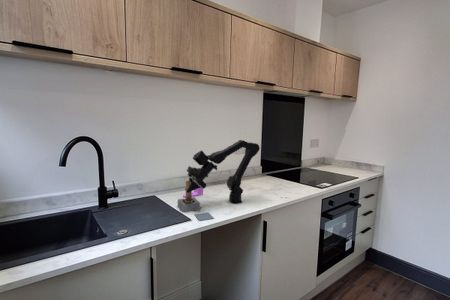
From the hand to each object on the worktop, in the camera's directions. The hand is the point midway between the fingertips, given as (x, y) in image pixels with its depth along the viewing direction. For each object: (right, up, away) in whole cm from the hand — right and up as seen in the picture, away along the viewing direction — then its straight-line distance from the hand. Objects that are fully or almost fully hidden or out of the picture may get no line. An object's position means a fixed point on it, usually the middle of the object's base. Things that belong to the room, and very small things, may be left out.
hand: (186, 191), depth 136 cm
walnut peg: (+1, -6, +1) cm, 7 cm away
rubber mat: (+11, -12, -10) cm, 19 cm away
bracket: (0, -7, +23) cm, 25 cm away
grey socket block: (+1, -10, +2) cm, 10 cm away
